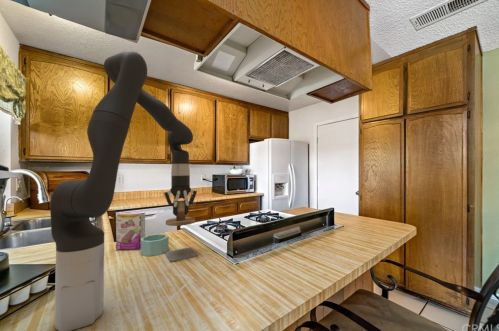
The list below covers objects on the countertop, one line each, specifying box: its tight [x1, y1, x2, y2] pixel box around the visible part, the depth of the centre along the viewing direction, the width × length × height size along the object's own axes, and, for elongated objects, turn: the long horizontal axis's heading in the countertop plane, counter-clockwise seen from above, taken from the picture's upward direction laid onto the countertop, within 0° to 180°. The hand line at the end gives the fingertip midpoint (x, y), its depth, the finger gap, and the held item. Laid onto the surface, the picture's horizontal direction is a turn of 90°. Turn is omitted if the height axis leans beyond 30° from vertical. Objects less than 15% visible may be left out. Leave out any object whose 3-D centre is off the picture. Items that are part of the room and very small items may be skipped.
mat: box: [165, 246, 199, 263], centre depth 90 cm, size 11×11×1 cm
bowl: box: [139, 233, 170, 257], centre depth 94 cm, size 11×11×6 cm
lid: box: [165, 200, 196, 227], centre depth 90 cm, size 12×12×9 cm
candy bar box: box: [115, 211, 146, 251], centre depth 99 cm, size 11×5×16 cm, turn 92°
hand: (180, 214), depth 90 cm, fingers closed on lid, 3 cm apart
